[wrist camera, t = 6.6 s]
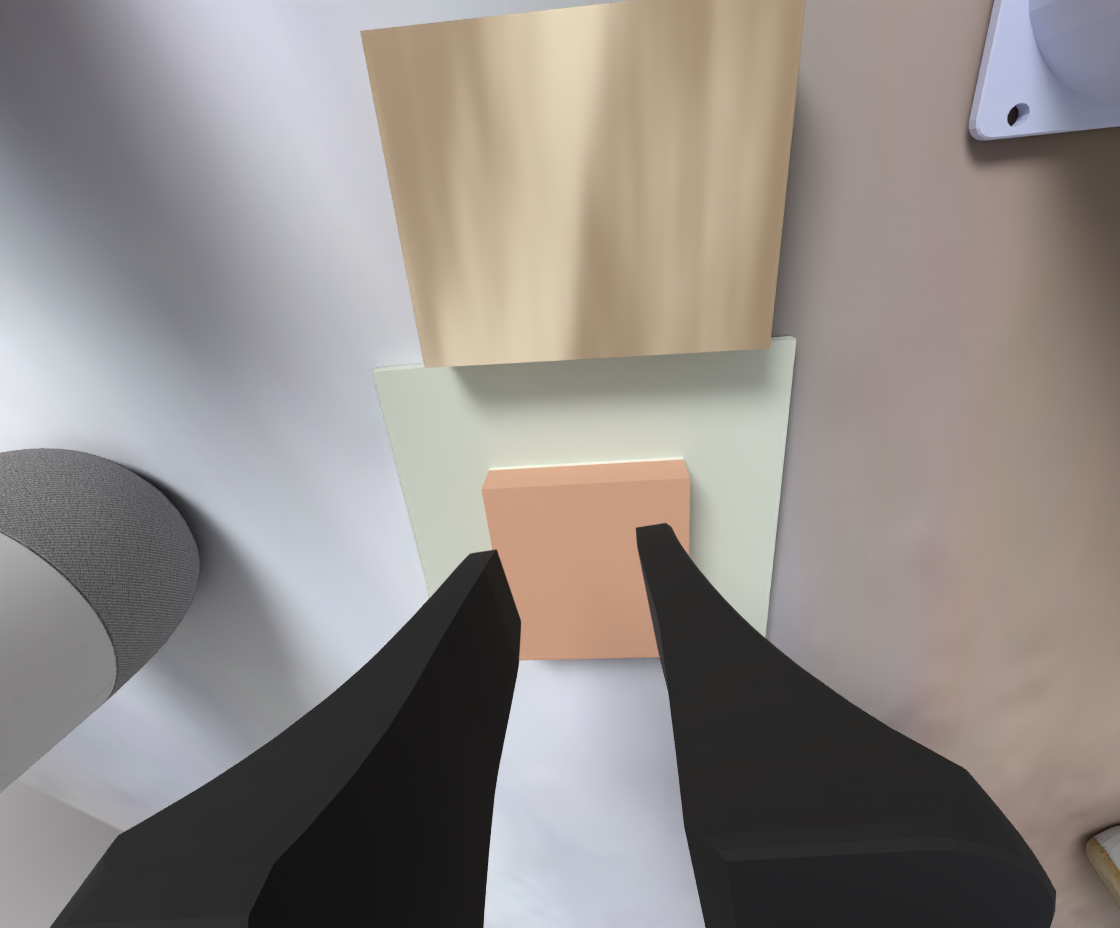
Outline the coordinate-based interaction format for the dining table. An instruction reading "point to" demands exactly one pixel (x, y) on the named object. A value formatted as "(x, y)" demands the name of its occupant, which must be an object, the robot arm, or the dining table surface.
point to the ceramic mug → (1107, 859)
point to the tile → (583, 550)
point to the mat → (601, 446)
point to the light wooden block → (590, 176)
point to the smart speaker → (80, 591)
